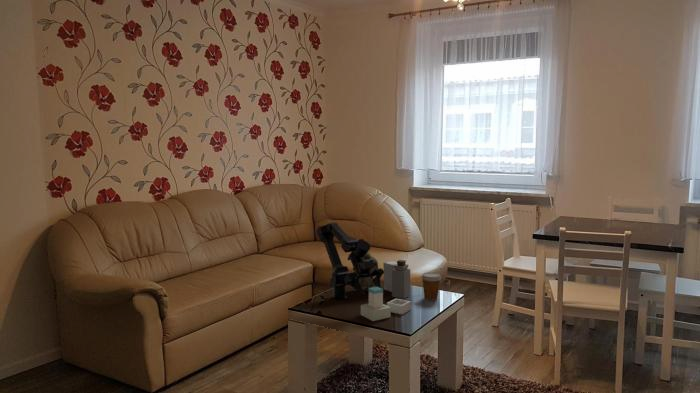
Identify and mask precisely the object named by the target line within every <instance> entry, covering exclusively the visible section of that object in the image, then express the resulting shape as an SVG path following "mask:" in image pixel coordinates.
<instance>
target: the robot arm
mask: <svg viewBox="0 0 700 393" xmlns="http://www.w3.org/2000/svg"><path fill="white" fill-rule="evenodd" d="M316 235H317V237H318V239H319V241H321V242H322V243H323V244H324V246H325V248H326V252H327V255H328V258H329V260H330V264H331V267H332V271H331V278H330V280H329V282H328V283H329V286H330V287H332V288H333V294H331V297H332V298H333V299H334V300H336V301H337V300H346V299H349V298H348V296H347V295H346V286H350V287H352V288H354V289H355V290H356V291H357V292H358V293H360V294H361V295H364V289H363V290H362V287H361V285H360V283H359V279H361V278H367V277H371V278H372V279H373V283H374V284H375V286H374V287H379V288H381V277H382V276H384V268H380V267H378V269H374V271H373V272H371V273H369V271H371V268H374V266H376V265H377V262H378V261H377V262H376V260H377V259H376V258H375V259H376V260H375V259H372V260H370V261H364V259H363V257H364V256H365V255H366V254H367V253H369V251H370V250H371V245H370V243H369V242H368V241H366V240H364V238H359V239H356V238H355V237H352V236H349V235H348V234H347V233H346V232H345V231H344V230H343V229H342V228H341V226H340V225H339V224H338V223H337V222H329V223H326V224H325V225H320V226H319V225H318V227H317V229H316ZM334 238H336V239H337V241H339V243H340V247H341V249H342V250H343V252H344V253H349V254H348V257H347V261H350V262H351V265H352V271H353V272H350V271H349V267H348V266H345V265H343V263H342V261H341V258H340V255H339V252H338V248H337V247H336V244H335V240H334ZM354 270H355V272H356V273H355V272H354Z"/></svg>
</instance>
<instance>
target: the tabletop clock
mask: <svg viewBox="0 0 700 393" xmlns="http://www.w3.org/2000/svg"><path fill="white" fill-rule="evenodd" d="M363 259H364V261H370V260H372V259H375V260H376V262H377V265H376V266H374V268H371V271H369V273H371V272H373V271H374V269H379V263H378V260H377V259H376V257H374V256H372V255H371V254H370V252H367V254H366V255H365V256H364V257H363ZM353 272H355V270H354V271H353ZM355 273H356V272H355ZM359 283H360V285H361V287H362V290H363V291H364V288H366V289H369V288H372V287H376V286H375V284H374V283H373V279H372V278H371V277H367V278H361V279H359Z"/></svg>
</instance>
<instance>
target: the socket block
mask: <svg viewBox="0 0 700 393" xmlns="http://www.w3.org/2000/svg"><path fill="white" fill-rule="evenodd" d="M391 313H392V312H391V307H389V306H387V304H384V303H383V308H378V309H372V308H370V307H369V303H365V304H361V305H360V316H362V317H364V318H365V319H368V320H370V321H371V322H374V321H375V322H376V321H379V320H384V319H388V318H391V316H392V315H391Z"/></svg>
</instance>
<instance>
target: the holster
mask: <svg viewBox="0 0 700 393" xmlns="http://www.w3.org/2000/svg"><path fill="white" fill-rule="evenodd" d="M386 305H387V306H389V307H391V313H393V314H397V313H398V315H402V314H403V315H404V314H406V313H408V312H409V311H411V310H412V301H410V300H406V299H402V298H398V297H395V298H394V299H392V300H389V301H388V302H386Z"/></svg>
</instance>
